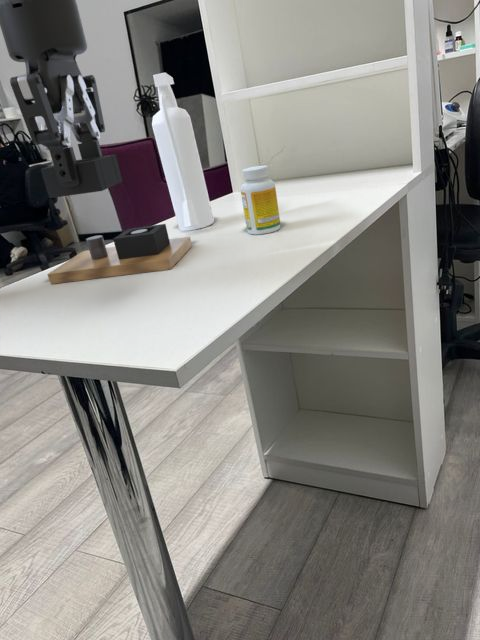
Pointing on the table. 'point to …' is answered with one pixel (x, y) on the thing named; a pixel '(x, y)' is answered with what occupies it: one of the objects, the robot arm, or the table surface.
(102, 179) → the dark grey square ring
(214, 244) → the table surface
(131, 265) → the wooden board
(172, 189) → the white spray bottle
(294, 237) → the table surface
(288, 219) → the table surface
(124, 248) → the black square holder
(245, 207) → the supplement bottle
